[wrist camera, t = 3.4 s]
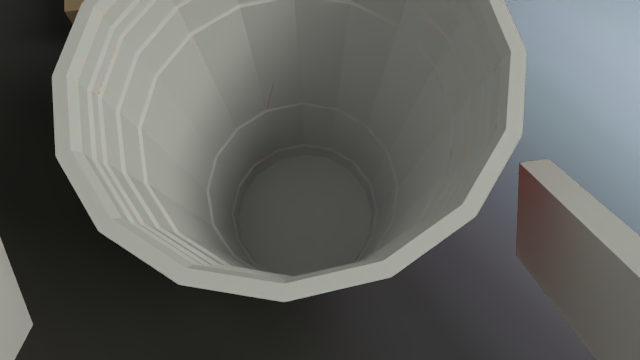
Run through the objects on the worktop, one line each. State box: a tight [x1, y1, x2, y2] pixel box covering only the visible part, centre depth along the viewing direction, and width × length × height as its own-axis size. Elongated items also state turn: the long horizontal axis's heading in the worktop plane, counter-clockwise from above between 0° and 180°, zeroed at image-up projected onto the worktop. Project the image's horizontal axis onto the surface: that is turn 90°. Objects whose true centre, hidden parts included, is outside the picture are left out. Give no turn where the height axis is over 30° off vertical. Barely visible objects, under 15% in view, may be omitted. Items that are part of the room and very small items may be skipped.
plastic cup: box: [52, 0, 527, 302], centre depth 19 cm, size 11×11×12 cm
